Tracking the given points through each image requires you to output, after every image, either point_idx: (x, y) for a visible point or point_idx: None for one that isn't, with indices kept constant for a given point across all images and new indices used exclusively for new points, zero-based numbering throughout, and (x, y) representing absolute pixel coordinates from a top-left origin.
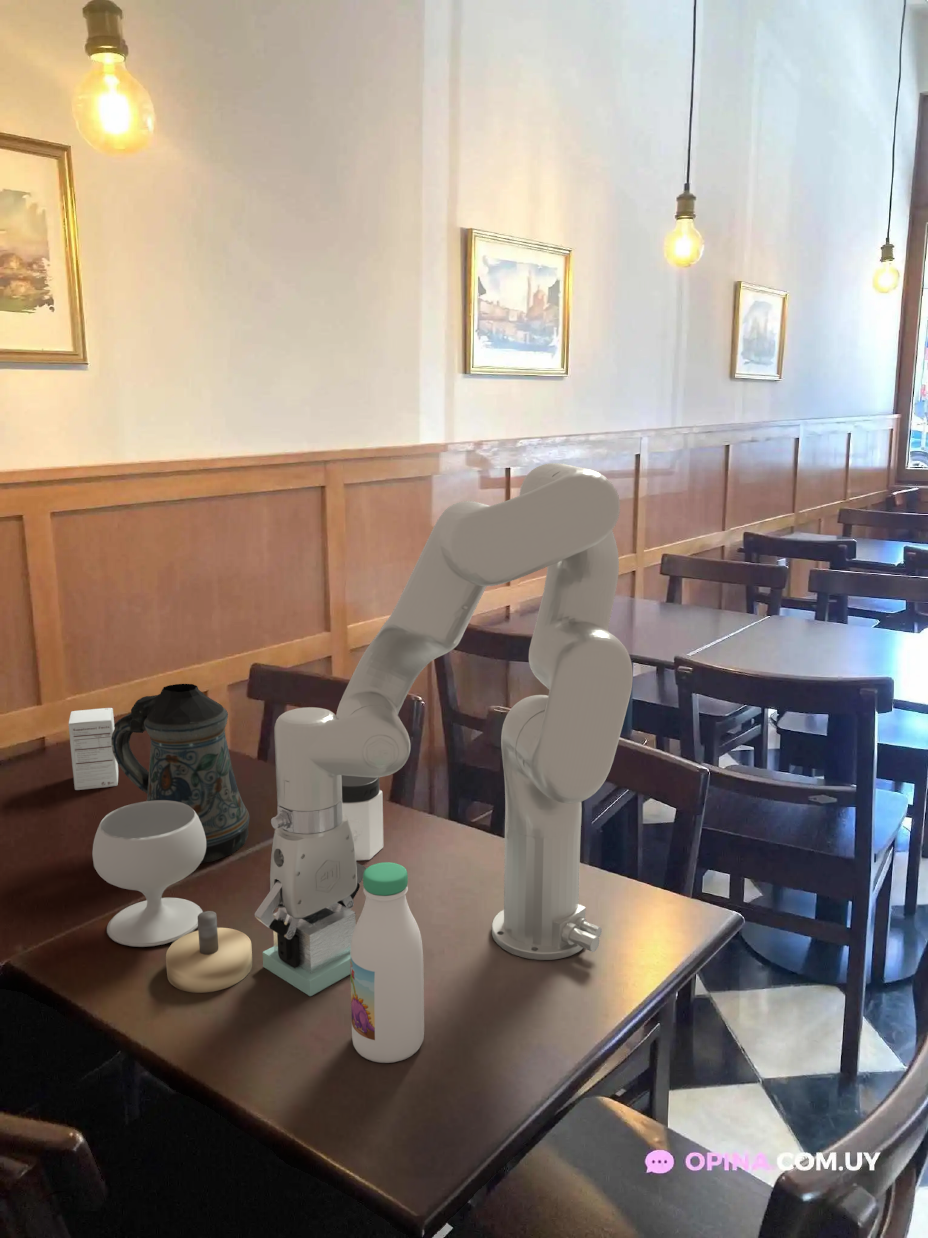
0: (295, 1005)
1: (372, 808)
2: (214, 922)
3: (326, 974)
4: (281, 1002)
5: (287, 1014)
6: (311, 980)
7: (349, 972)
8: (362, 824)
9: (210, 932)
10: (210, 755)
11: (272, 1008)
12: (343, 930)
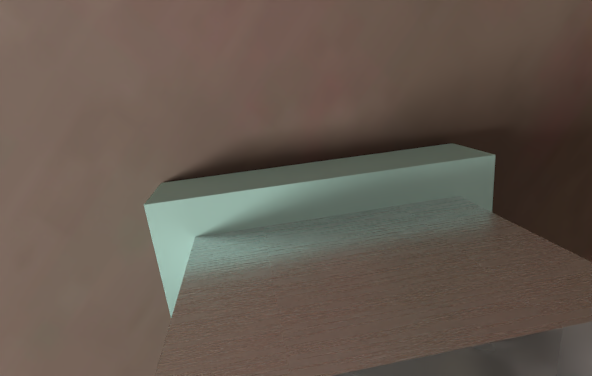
0: (514, 133)
1: None
2: None
3: (401, 164)
4: (529, 178)
5: (561, 107)
6: (486, 155)
7: (265, 171)
8: None
9: None
10: None
11: (566, 169)
12: (292, 301)
